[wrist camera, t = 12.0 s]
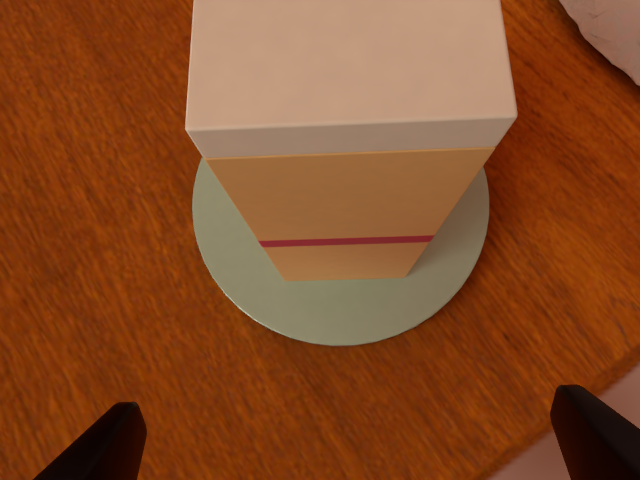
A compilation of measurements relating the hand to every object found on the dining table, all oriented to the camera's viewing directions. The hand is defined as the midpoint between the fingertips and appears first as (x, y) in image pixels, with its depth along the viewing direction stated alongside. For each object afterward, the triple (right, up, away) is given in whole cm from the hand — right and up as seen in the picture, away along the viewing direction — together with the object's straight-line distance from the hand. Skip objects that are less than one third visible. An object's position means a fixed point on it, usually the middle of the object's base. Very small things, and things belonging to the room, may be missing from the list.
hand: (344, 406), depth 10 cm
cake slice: (0, +5, +10) cm, 11 cm away
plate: (0, +5, +11) cm, 12 cm away
